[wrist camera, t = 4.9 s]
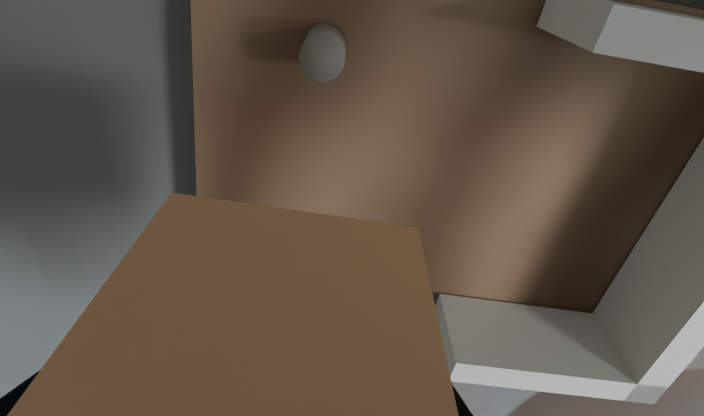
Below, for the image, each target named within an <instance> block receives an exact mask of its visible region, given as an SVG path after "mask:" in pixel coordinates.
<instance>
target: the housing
mask: <svg viewBox="0 0 704 416" xmlns="http://www.w3.org/2000/svg"><path fill="white" fill-rule="evenodd" d="M536 27H539V28H541V29H543V30H545V31H547V32H549V33H551V34H554V35H556V36H558V37H560V38H562V39H564V40H566V41H569V42H571V43H573V44H575V45H577V46H579V47H582V48H584V49H586V50H588V51H590V52H592V53H597V54H603V55H608V56H614V57H619V58H625V59H631V60H636V61H642V62H647V63H653V64H658V65H664V66H669V67H675V68H681V69H686V70H692V71H697V72H703V73H704V18H701V17H696V16H691V15H685V14H680V13H675V12H670V11H664V10H659V9H654V8H649V7H643V6H638V5H633V4H628V3H622V2H617V1H612V0H546V2H545V4H544V7H543V10H542V13H541V15H540V18H539V21H538V24H537V26H536ZM435 308H436V313H437V317H438V322H439V327H440V331H441V336H442V341H443V345H444V350H445V355H446V359H447V364H448V369H449V373H450V378H451V381H452V382H461V383H470V384H479V385H488V386H497V387H505V388H514V389H523V390H532V391H541V392H550V393H559V394H568V395H577V396H586V397H594V398H603V399H613V400H621V401H630V402H639V403H648V404H654V403H655V402H656V401H657V400H658V399H659V398H660V396H661V395H662V394H663V393H664V392H665V391H666V390H667V388H668V387H669V386H670V385H671V384H672V383H673V381H674V380H675V379H676V378H677V377H678V376H679V375H680V373H681V372H682V371H683V370H684V369H685V368H686V367H687V365H688V364H689V363H690V362H691V361H692V360H693V358H694V357H695V356H696V355H697V354H698V353H699V352H700V350H701V349H702V348H703V347H704V138H703V139H702V141H701V142H700V144H699V146H698V147H697V149H696V150H695V152H694V154H693V155H692V157H691V158H690V160H689V161H688V163H687V165H686V166H685V168H684V169H683V171H682V172H681V174H680V176H679V177H678V179H677V180H676V182H675V184H674V185H673V187H672V188H671V190H670V191H669V193H668V195H667V196H666V198H665V199H664V201H663V202H662V204H661V206H660V207H659V209H658V210H657V212H656V214H655V215H654V217H653V218H652V220H651V221H650V223H649V225H648V226H647V228H646V229H645V231H644V233H643V234H642V236H641V237H640V239H639V240H638V242H637V244H636V245H635V247H634V248H633V250H632V251H631V253H630V255H629V256H628V258H627V259H626V261H625V263H624V264H623V266H622V267H621V269H620V270H619V272H618V274H617V275H616V277H615V278H614V280H613V281H612V283H611V285H610V286H609V288H608V289H607V291H606V293H605V294H604V296H603V297H602V299H601V300H600V302H599V304H598V305H597V307H596V308H595V310H594V312H593V313H585V312H577V311H570V310H562V309H554V308H546V307H539V306H531V305H523V304H515V303H508V302H500V301H492V300H484V299H477V298H469V297H461V296H453V295H445V294H439V297H438V299H437V302H436V305H435Z"/></svg>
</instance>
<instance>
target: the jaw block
mask: <svg viewBox="0 0 704 416" xmlns="http://www.w3.org/2000/svg"><path fill="white" fill-rule="evenodd" d="M7 416H459V415H458V411H457V406H456V401H455V397H454V392H453V387H452V383H451V378H450V373H449V369H448V364H447V359H446V355H445V350H444V345H443V341H442V336H441V331H440V327H439V322H438V317H437V313H436V308H435V303H434V299H433V294H432V289H431V285H430V280H429V275H428V270H427V266H426V261H425V256H424V252H423V247H422V242H421V238H420V233H419V228H417V227H410V226H403V225H396V224H389V223H382V222H375V221H368V220H361V219H354V218H347V217H340V216H333V215H326V214H319V213H312V212H305V211H298V210H291V209H284V208H277V207H270V206H263V205H256V204H249V203H242V202H235V201H228V200H221V199H214V198H207V197H200V196H193V195H186V194H179V193H171V194H170V196H169V197H168V198H167V200H166V201H165V202H164V204H163V205H162V206H161V208H160V209H159V210H158V212H157V213H156V215H155V216H154V217H153V219H152V220H151V221H150V223H149V224H148V225H147V227H146V228H145V229H144V231H143V232H142V233H141V235H140V236H139V238H138V239H137V240H136V242H135V243H134V244H133V246H132V247H131V248H130V250H129V251H128V252H127V254H126V255H125V257H124V258H123V259H122V261H121V262H120V263H119V265H118V266H117V267H116V269H115V270H114V271H113V273H112V274H111V275H110V277H109V278H108V280H107V281H106V282H105V284H104V285H103V286H102V288H101V289H100V290H99V292H98V293H97V294H96V296H95V297H94V298H93V300H92V301H91V303H90V304H89V305H88V307H87V308H86V309H85V311H84V312H83V313H82V315H81V316H80V317H79V319H78V320H77V321H76V323H75V324H74V326H73V327H72V328H71V330H70V331H69V332H68V334H67V335H66V336H65V338H64V339H63V340H62V342H61V343H60V345H59V346H58V347H57V349H56V350H55V351H54V353H53V354H52V355H51V357H50V358H49V359H48V361H47V362H46V363H45V365H44V366H43V368H42V369H41V370H40V372H39V373H38V374H37V376H36V377H35V378H34V380H33V381H32V382H31V384H30V385H29V386H28V388H27V389H26V391H25V392H24V393H23V395H22V396H21V397H20V399H19V400H18V401H17V403H16V404H15V405H14V407H13V408H12V409H11V411H10V412H9V414H8V415H7Z"/></svg>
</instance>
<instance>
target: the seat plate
mask: <svg viewBox="0 0 704 416" xmlns="http://www.w3.org/2000/svg"><path fill="white" fill-rule="evenodd" d="M612 1H617V2H622V3H628V4H633V5H638V6H643V7H649V8H654V9H659V10H664V11H670V12H675V13H680V14H685V15H691V16H696V17H701V18H704V10H703V9H698V8H692V7H687V6H682V5H677V4H672V3H666V2H661V1H656V0H612ZM545 2H546V0H191V34H192V67H193V100H194V133H195V166H196V196H200V197H207V198H214V199H221V200H228V201H235V202H242V203H249V204H256V205H263V206H270V207H277V208H284V209H291V210H298V211H305V212H312V213H319V214H326V215H333V216H340V217H347V218H354V219H361V220H368V221H375V222H382V223H389V224H396V225H403V226H410V227H417V228H419V233H420V238H421V242H422V247H423V252H424V256H425V261H426V266H427V270H428V275H429V280H430V285H431V289H432V294H433V299H434V303H435V305H436V302H437V299H438V297H439V294H445V295H453V296H461V297H469V298H477V299H484V300H492V301H500V302H508V303H515V304H523V305H531V306H539V307H546V308H554V309H562V310H570V311H577V312H585V313H593V312H594V310H595V308H596V307H597V305H598V304H599V302H600V300H601V299H602V297H603V296H604V294H605V293H606V291H607V289H608V288H609V286H610V285H611V283H612V281H613V280H614V278H615V277H616V275H617V274H618V272H619V270H620V269H621V267H622V266H623V264H624V263H625V261H626V259H627V258H628V256H629V255H630V253H631V251H632V250H633V248H634V247H635V245H636V244H637V242H638V240H639V239H640V237H641V236H642V234H643V233H644V231H645V229H646V228H647V226H648V225H649V223H650V221H651V220H652V218H653V217H654V215H655V214H656V212H657V210H658V209H659V207H660V206H661V204H662V202H663V201H664V199H665V198H666V196H667V195H668V193H669V191H670V190H671V188H672V187H673V185H674V184H675V182H676V180H677V179H678V177H679V176H680V174H681V172H682V171H683V169H684V168H685V166H686V165H687V163H688V161H689V160H690V158H691V157H692V155H693V154H694V152H695V150H696V149H697V147H698V146H699V144H700V142H701V141H702V139H703V138H704V73H703V72H697V71H692V70H686V69H681V68H675V67H669V66H664V65H658V64H653V63H647V62H642V61H636V60H631V59H625V58H619V57H614V56H608V55H603V54H597V53H592V52H590V51H588V50H586V49H584V48H582V47H579V46H577V45H575V44H573V43H571V42H569V41H566V40H564V39H562V38H560V37H558V36H556V35H554V34H551V33H549V32H547V31H545V30H543V29H541V28H539V27H536V26H537V24H538V21H539V18H540V15H541V13H542V10H543V7H544V4H545Z"/></svg>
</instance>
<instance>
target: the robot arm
mask: <svg viewBox="0 0 704 416" xmlns="http://www.w3.org/2000/svg"><path fill="white" fill-rule="evenodd" d="M39 372H40V371H38V372H37V373H35V374H34V375H33V376H31V377H30V378H28V379H27V380H26V381H24V382H23V383H21V384H20V385H19V386H17V387H16V388H14V389H13V390H12V391H10V392H9V393H7V394H6V395H4V396H3V397H2V398H0V416H7V415H8V414H9V412H10V411H11V409H12V408H13V407H14V405H15V404H16V403H17V401H18V400H19V399H20V397H21V396H22V395H23V393H24V392H25V391H26V389H27V388H28V386H29V385H30V384H31V382H32V381H33V380H34V378H35V377H36V376H37V374H38V373H39ZM452 387H453V392H454V397H455V401H456V406H457V411H458V415H459V416H473V415H472V413H471V412H470V410H469V409H468V407H467V406H466V404H465V403H464V401H463V400H462V398H461V397H460V395H459V394H458V392H457V391H456V389H455V388H454V386H453V385H452Z"/></svg>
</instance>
